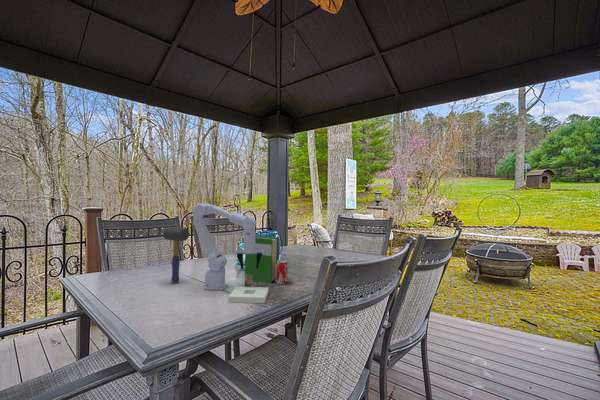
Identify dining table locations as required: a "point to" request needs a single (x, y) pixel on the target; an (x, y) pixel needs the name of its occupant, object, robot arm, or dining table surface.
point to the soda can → (281, 272)
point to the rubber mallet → (175, 247)
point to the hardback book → (263, 259)
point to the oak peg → (248, 280)
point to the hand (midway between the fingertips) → (249, 268)
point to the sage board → (248, 295)
